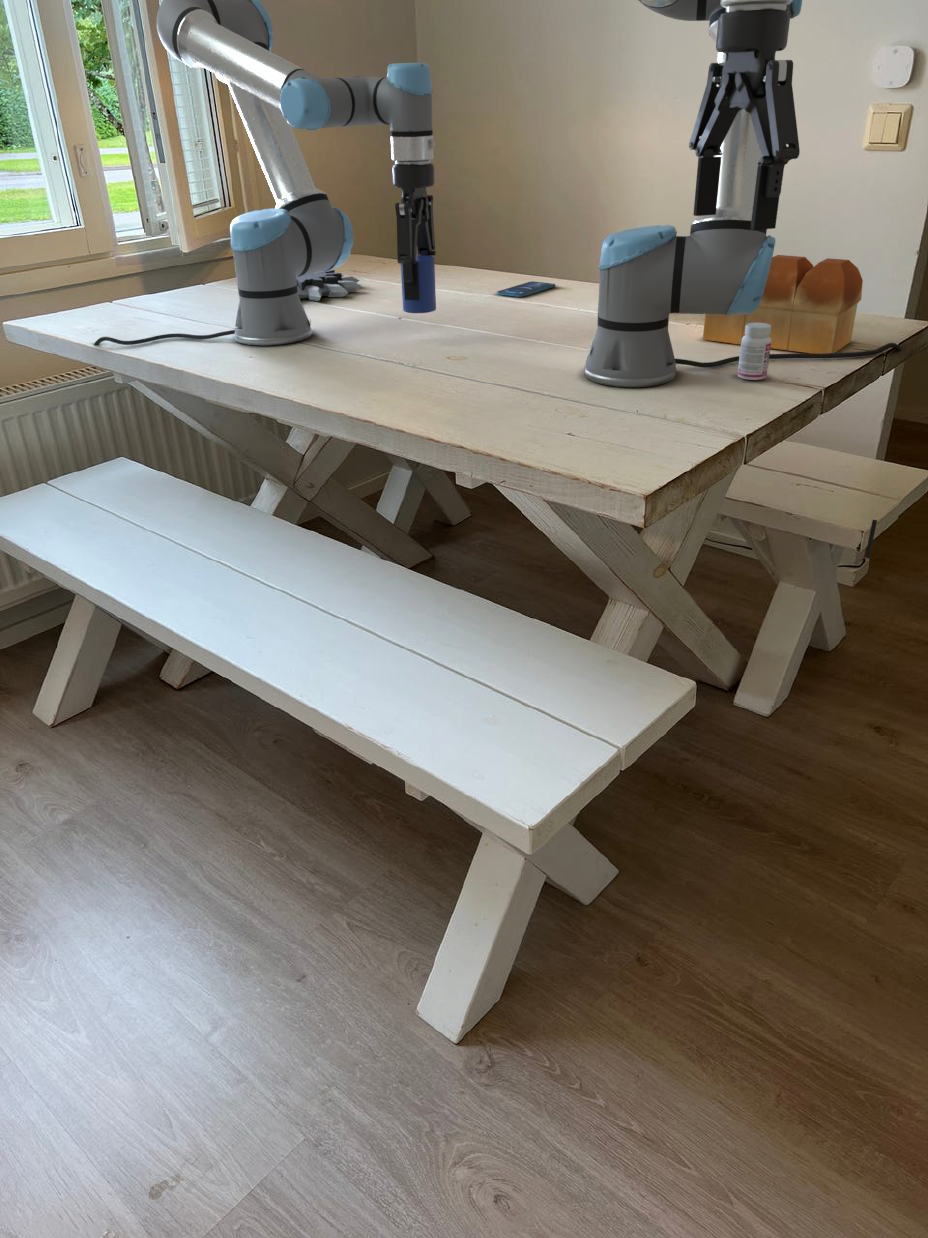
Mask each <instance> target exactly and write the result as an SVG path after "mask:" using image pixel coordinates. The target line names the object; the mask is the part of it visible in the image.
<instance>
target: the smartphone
mask: <svg viewBox="0 0 928 1238" xmlns="http://www.w3.org/2000/svg"><path fill="white" fill-rule="evenodd" d="M554 287H556V284H555V283H551V282H544V281H543V282H542V281H527V282H523V283H521V284H517V285H515V286H510V287H507V288H504V289H501V290H497V291H496V295H500V296H508V297H517V298H523V297H527V296H529V295H532V294H536V293H539V292H542V291H546V290H549V289H552V288H554Z"/></svg>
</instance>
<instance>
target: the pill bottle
mask: <svg viewBox="0 0 928 1238" xmlns="http://www.w3.org/2000/svg"><path fill="white" fill-rule="evenodd" d="M770 333H771V325H770V324H766V323H748V324H746V327H745V334H746V335H745V336H744V337H743V338H742V341H741V344H740V348H739V349H740V350H739V356H740V357H739V361H738V367H737V377H738V378H740V379H742V380H748V381H759V380H764V379H766V378H767V377H768V376H767V375H768V369H769V362H770V359H769V356H770V354H771V349H772V348H771V338H770V337H769V335H770Z"/></svg>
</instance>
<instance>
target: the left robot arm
mask: <svg viewBox="0 0 928 1238" xmlns="http://www.w3.org/2000/svg"><path fill="white" fill-rule="evenodd" d="M156 30H157V35H158V37H159V40H160V42H161V44H162V46H163V47H164V49H165V50H166V51H167V52H168V53H169V55H171V56H172V57H173V58H174V59H177V61H180V62H181V63H183V64H185V65H187V66H189V67H190V68H193V69H203V68H204V69H206V70H208V71H210V72H212V73H213V74H215V76H216V79H218V81H220V82H222V83H224V84H227V85H228V87H229V90H230V93H231V95H232V98H233V100H234V103H235V104H236V108H237V110H238V112H239V115H240V117H241V119H242V122H243V125H244V127H245V129H246V132H247V134H248V137H249V139H250V142H251V144H252V147H253V149H254V151H255V154H256V157H257V159H258V161H259V164H260V166H261V169H262V171H263V173H264V175H265V178H266V180H267V183H268V186H269V188H270V191H271V193H272V196H273V198H274V201H275V203H276V205H275V207H274V208H272V207H271V208H264V209H259V210H258V209H256V210H252V211H249V212H245V213H242V214H240V215H238V216H236V217H235V218H233V219H232V220H231V222H230V226H229V234H230V248H231V252H232V257H233V258H232V259H233V263H234V271H235V277H236V279H235V280H236V285H237V293H238V307H237V312H236V318H235V319H236V320H235V323H234V329H230V330H226V331H220V332H216V333H212V334H190V333H180V332H179V333H178V332H177V333H165V334H158V335H154V336H150V337H145V338H141V339H140V338H139V339H136V340H135V339H132V340H121V339H117V338H114V337H111V336H101V337H99V338H98V339H96V340H95V342H94V343H93V346H99V345H100V344H101V343H102V342H111V343H113V344H117V345H121V346H134V345H140V344H145V343H150V342H154V341H159V340H163V339H172V338H173V339H174V338H183V339H191V340H210V339H215V338H220V337H225V336H230V335H234V337H235V341H236V342H238V343H240V344H243V345H248V346H279V345H286V344H287V345H288V344H292V343H293V344H294V343H297V342H301V341H305V340H306V339H308V338H310V337H311V336H312V327H311V325H312V320H311V318H308V315H307V313H306V310H305V308H304V306H303V303H302V301H301V299H299V296H298V289H297V279H296V277H299V276H304V275H309V274H313V273H318V272H327V271H330V270H335V269H337V268H340V267H341V266H343V265H345V263H346V262H347V261H348V259H349V258H350V256H351V253H352V248H353V247H354V230H353V226H352V223H351V220H350V218H349V216H348V214H347V213H346V212H344V211H342V210H341V209H340V208H338V207H337V206H335V207H334V206H332V204H331V202H330V200H329V197H328V195H327V193H326V192H325V191H323V190H321V189H319V188H317V186H316V185H315V182H314V179H313V177H312V175H311V172H310V170H309V167H308V164H307V162H306V159H305V157H304V155H303V152H302V149H301V147H300V144H299V142H298V140H297V137H296V135H295V132H294V129H297V130H307V131H314V130H315V131H316V130H319V129H328V128H329V129H331V128H341V127H355V126H357V127H358V126H370V125H374V126H375V125H387V126H389V129H390V154H391V157H390V158H391V160H392V161H393V162H394V164H393V165H392V166H391V169H392V185H393V186H394V187H395V188H398V189H401V200H400V202H395V204H394V209H395V216H396V249H397V250H396V252H397V254H396V255H397V256H396V257H397V260H396V261H397V264H401V263H402V264H403V275H404V295H405V300H420V299H419V275H418V263H416V255H425V256H432V257H435V256H436V255H437V251H436V240H435V239H436V238H435V223H434V195H433V194H428V192H427V188H431V187H433V186H434V185H435V183H436V182H435V180H436V179H435V165H434V163H432V162H431V161H433V159H434V149H435V147H436V145H437V144H436V141H434V131H433V88H432V87H433V86H432V76H431V75H432V74H431V68H430V66H429V65H428V64H427V63H425V62H400V63H399V62H398V63H390V64H388V66H387V69H386V70H387V74H386V76H363V75H361V76H360V75H359V76H350V77H349V76H348V77H320V76H317V75H315V74H314V73H312V72H310V71H308V70H305V69H304V68H302V67H301V66H299V65H297V64H294V62H292V61H290V60H287V59H285V58H284V57H281V56H279V55H278V54H276V53H274V52H272V49H273V45H274V38H273V37H272V35H273V34H274V27H273V23H272V20H271V17H270V15H269V13H268V11H267V9H266V7H265V6H264V4H263V3H262V2H261V1H260V0H162V1H161V3H160V6H159V7H158V10H157V14H156ZM293 128H294V129H293Z"/></svg>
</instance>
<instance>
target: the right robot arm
mask: <svg viewBox="0 0 928 1238" xmlns="http://www.w3.org/2000/svg"><path fill="white" fill-rule="evenodd" d="M638 2H639V3H640V4H642V5H643V6H644V7H645V8H647V9H649V10H650V11H652V12H655V13H657V14H659V15H660V16H661V15H662V16H664V17H666V18H669V19H672V20H673V19H674V20H677V21H684V22H685V21H686V22H704V21H707V22H709V23H708V35H709V36H710V38H711V39H712V40H713V42H715V50H716V57H715V59H716V60H715V62H710V64H709V66H708V71H707V77H706V78H707V79H706V85H705V87H704V88H705V89H704V92H703V95H702V99H701V102H700V105H699V107H698V108H699V109H698V112H697V116H696V118H695V122H694V124H693V125H694V126H693V129H692V133H691V135H690V137H689V138H690V139H689V142H688V148H689V150H690V151H694V152H695V156H696V157H698V158H697V159H698V160H697V170H696V179H695V181H696V182H695V193H694V202H693V203H694V204H693V214H692V215H693V216H694V217H696V218H695V219H694V220H693V221H692V222H691V223H690V232H689V235H686V236H685V235H684V236H683V235H677V234H678V231H677V228H676V227H675V226H674V225H668V224H666V225H648V226H641V227H634V228H629V229H625V230H620V231H618V232H614V233H612V234H609V235H608V236H607V237H606V238H605V239H603V241H602V244H601V248H600V249H601V250H600V260H599V264H598V270H599V284H598V302H597V304H598V307H597V326H596V332H595V334H594V337H593V339H592V342H591V343H590V344H589V347H588V350H587V352H588V354H587V356H586V360H585V364H584V377H585V378H587V379H588V381H591V382H594V383H596V384H599V385H604V386H609V387H618V388H619V387H620V388H645V387H654V386H655V387H656V386H660V385H663V384H666V383H669V382H672V381H673V380H674V379H675V378H676V372H677V368H676V367H677V365H685V366H690V367H691V366H692V367H696V368H702V369H703V368H705V369H706V368H715V367H719V366H723V365H727V364H731V363H735V362H739V357H740V355H737V356H732V357H728V358H724V359H720V360H716V361H710V362H702V361H701V362H700V361H695V360H691V359H683V358H675V353H674V350H673V345H672V341H671V336H670V332H669V321H670V314H684V315H685V314H687V315H689V314H690V315H693V314H694V315H697V314H698V315H705V314H724V315H726V316H729V315H734V314H750V313H753V312H754V311H755V310H756V309H757V308H758V307H759V305H760V302H761V299H762V296H763V293H764V289H765V286H766V282H767V278H768V274H769V270H770V266H771V261H772V257H774V251H775V247H776V238H775V237H774V236H772V235H767V231H768V230H773V229H776V226H777V219H778V211H779V202H780V196H781V193H782V186H783V177H784V173H785V172H784V170H785V167H786V165H787V164H789V162H790V161H791V160H796V159H798V158H799V157H800V154H801V153H800V151H801V149H800V142H799V133H798V124H797V123H798V122H797V116H796V108H795V99H794V89H793V74H794V61H793V60H792V59H776V53H777V52H782V51H784V50H785V49H786V47H787V45H788V41H789V40H788V39H789V32H790V23H791V19H794V18H796V17H798V16H799V15H800V14H801V12H802V6H803V0H638ZM888 349H894V350H895V351H896V352H902V348H901V347H900V346H899V345H898V343H896V342H889V343H886V344H884V345H882V346H880V347H878V348H876V349H871V350H862V351H850V352H848V351H847V352H835V353H825V354H813V353H770V356H769V360H783V359H784V360H785V359H790V360H791V359H809V360H810V359H811V360H812V359H818V360H819V359H843V358H844V359H845V358H859V357H869V356H874V355H878V354H881V353H883V352H885V351H886V350H888ZM877 524H878V520H877V519H872V521H871V526H870V530H869V534H868V541H867V546H866V551H865V557H866V558H869V557H871V553H872V548H873V542H874V539H875V533H876V528H877Z"/></svg>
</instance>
